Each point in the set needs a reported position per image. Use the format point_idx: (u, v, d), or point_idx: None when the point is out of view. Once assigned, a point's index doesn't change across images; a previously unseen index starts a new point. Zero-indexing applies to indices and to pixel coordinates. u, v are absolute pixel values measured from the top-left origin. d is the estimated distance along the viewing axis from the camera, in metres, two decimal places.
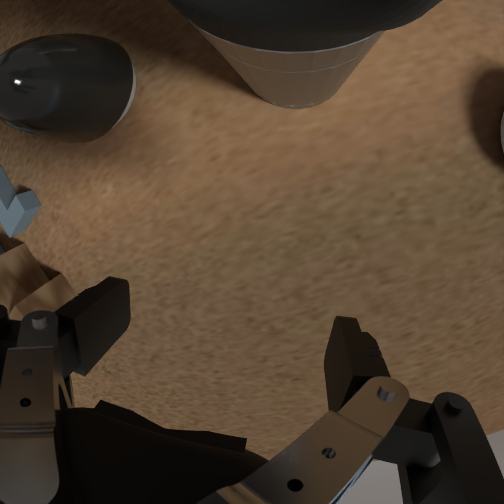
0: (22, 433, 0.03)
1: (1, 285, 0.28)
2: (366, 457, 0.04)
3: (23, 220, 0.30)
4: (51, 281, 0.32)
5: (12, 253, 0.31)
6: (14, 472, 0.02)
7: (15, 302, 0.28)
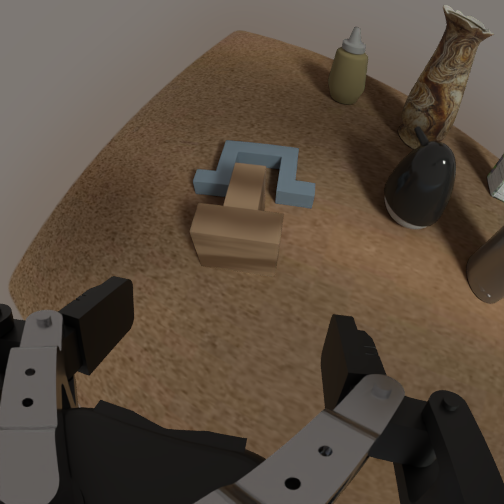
0: (23, 433, 0.03)
1: (261, 195, 0.39)
2: (363, 454, 0.04)
3: (298, 198, 0.45)
4: None
5: (264, 198, 0.44)
6: (14, 472, 0.02)
7: None
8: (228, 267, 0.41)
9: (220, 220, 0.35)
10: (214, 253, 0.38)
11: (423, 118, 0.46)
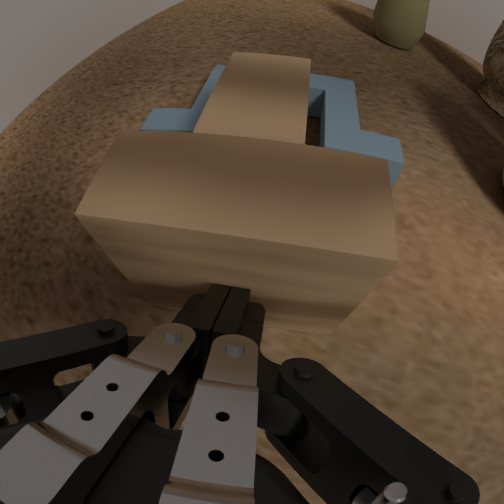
0: (55, 443, 0.03)
1: None
2: (256, 408, 0.05)
3: None
4: None
5: None
6: (14, 472, 0.02)
7: None
8: None
9: (176, 175, 0.10)
10: (168, 282, 0.13)
11: None
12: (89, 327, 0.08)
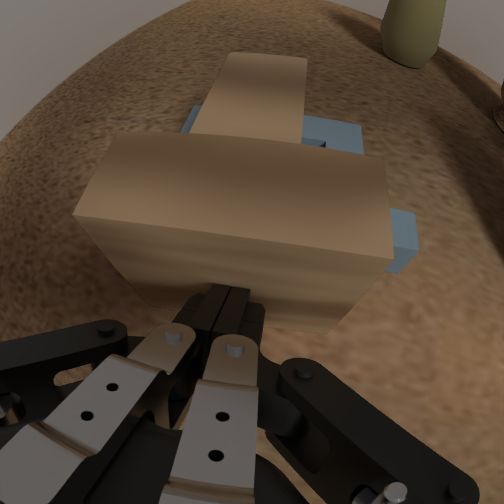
0: (55, 443, 0.03)
1: None
2: (256, 407, 0.05)
3: None
4: None
5: None
6: (14, 472, 0.02)
7: None
8: None
9: (173, 176, 0.10)
10: (166, 282, 0.13)
11: None
12: (89, 327, 0.08)
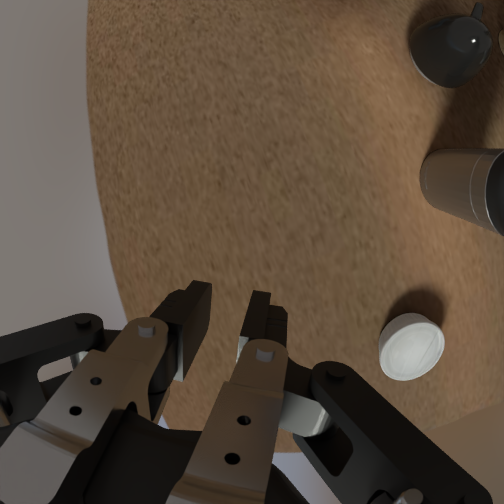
0: (49, 439, 0.03)
1: None
2: (279, 414, 0.05)
3: None
4: None
5: None
6: (14, 472, 0.02)
7: None
8: None
9: None
10: None
11: None
12: (66, 321, 0.08)
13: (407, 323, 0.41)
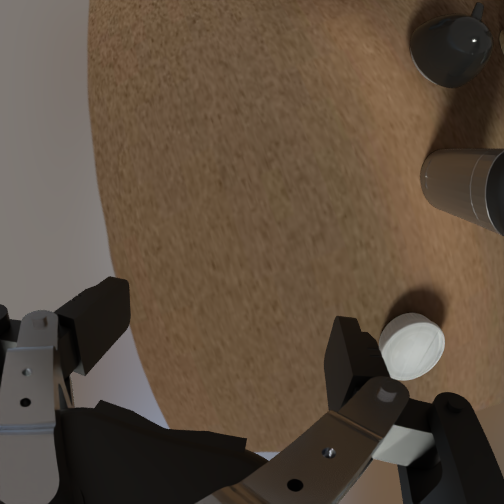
0: (22, 433, 0.03)
1: None
2: (366, 457, 0.04)
3: None
4: None
5: None
6: (14, 472, 0.02)
7: None
8: None
9: None
10: None
11: None
12: None
13: (408, 323, 0.41)
